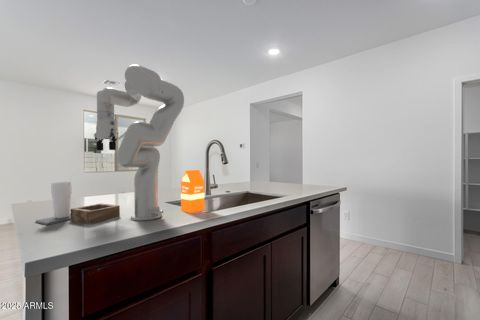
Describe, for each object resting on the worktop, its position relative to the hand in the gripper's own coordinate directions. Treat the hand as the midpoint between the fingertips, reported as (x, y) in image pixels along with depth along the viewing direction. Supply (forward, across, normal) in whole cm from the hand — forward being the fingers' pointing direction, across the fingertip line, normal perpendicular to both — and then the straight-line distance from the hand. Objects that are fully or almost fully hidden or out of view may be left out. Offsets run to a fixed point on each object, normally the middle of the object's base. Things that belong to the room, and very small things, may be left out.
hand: (106, 150), depth 116 cm
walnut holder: (+30, -12, +13) cm, 35 cm away
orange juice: (+31, -40, -18) cm, 53 cm away
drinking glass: (+30, 0, +20) cm, 36 cm away
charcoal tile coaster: (+30, 0, +20) cm, 36 cm away
